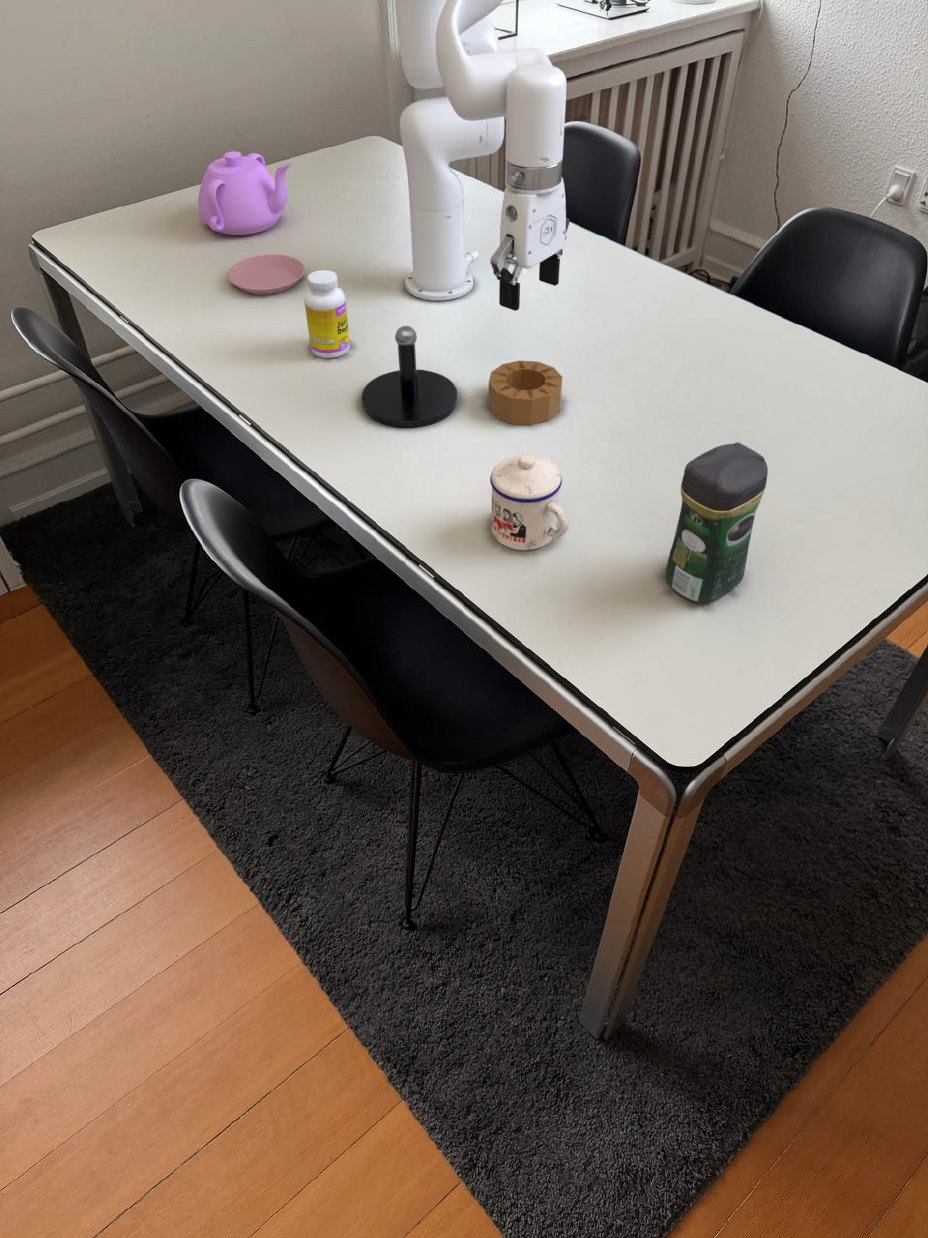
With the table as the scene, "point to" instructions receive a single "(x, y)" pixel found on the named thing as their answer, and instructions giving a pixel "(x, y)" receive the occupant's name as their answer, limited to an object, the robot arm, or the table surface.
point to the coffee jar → (715, 521)
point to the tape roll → (525, 392)
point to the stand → (409, 391)
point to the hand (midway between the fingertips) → (529, 294)
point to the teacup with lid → (526, 502)
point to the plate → (266, 274)
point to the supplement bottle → (326, 315)
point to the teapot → (242, 194)
